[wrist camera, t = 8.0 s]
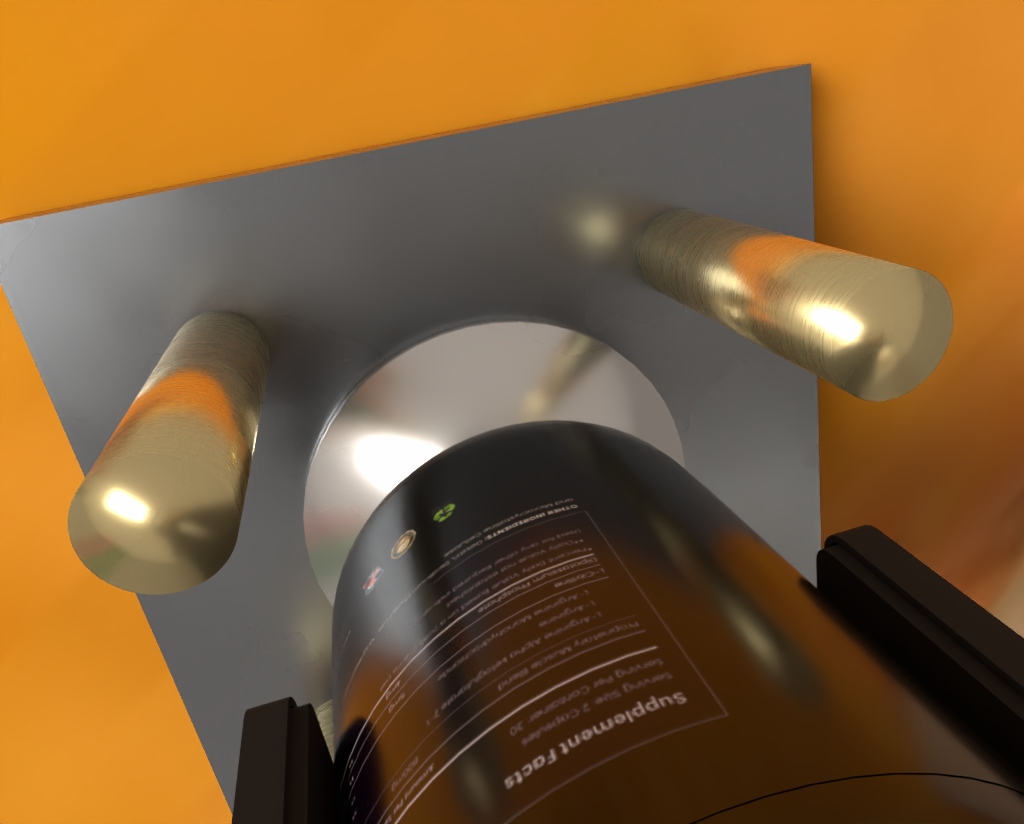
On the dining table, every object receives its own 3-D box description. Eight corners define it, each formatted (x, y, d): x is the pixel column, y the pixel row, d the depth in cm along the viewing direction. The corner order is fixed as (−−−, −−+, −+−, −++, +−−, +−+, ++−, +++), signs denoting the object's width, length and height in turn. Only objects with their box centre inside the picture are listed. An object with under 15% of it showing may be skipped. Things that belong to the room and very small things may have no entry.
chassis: (774, 67, 15) (1128, 33, 8) (797, 645, 20) (1022, 896, 14) (4, 218, 13) (-311, 328, 6) (256, 815, 18) (222, 1202, 12)
